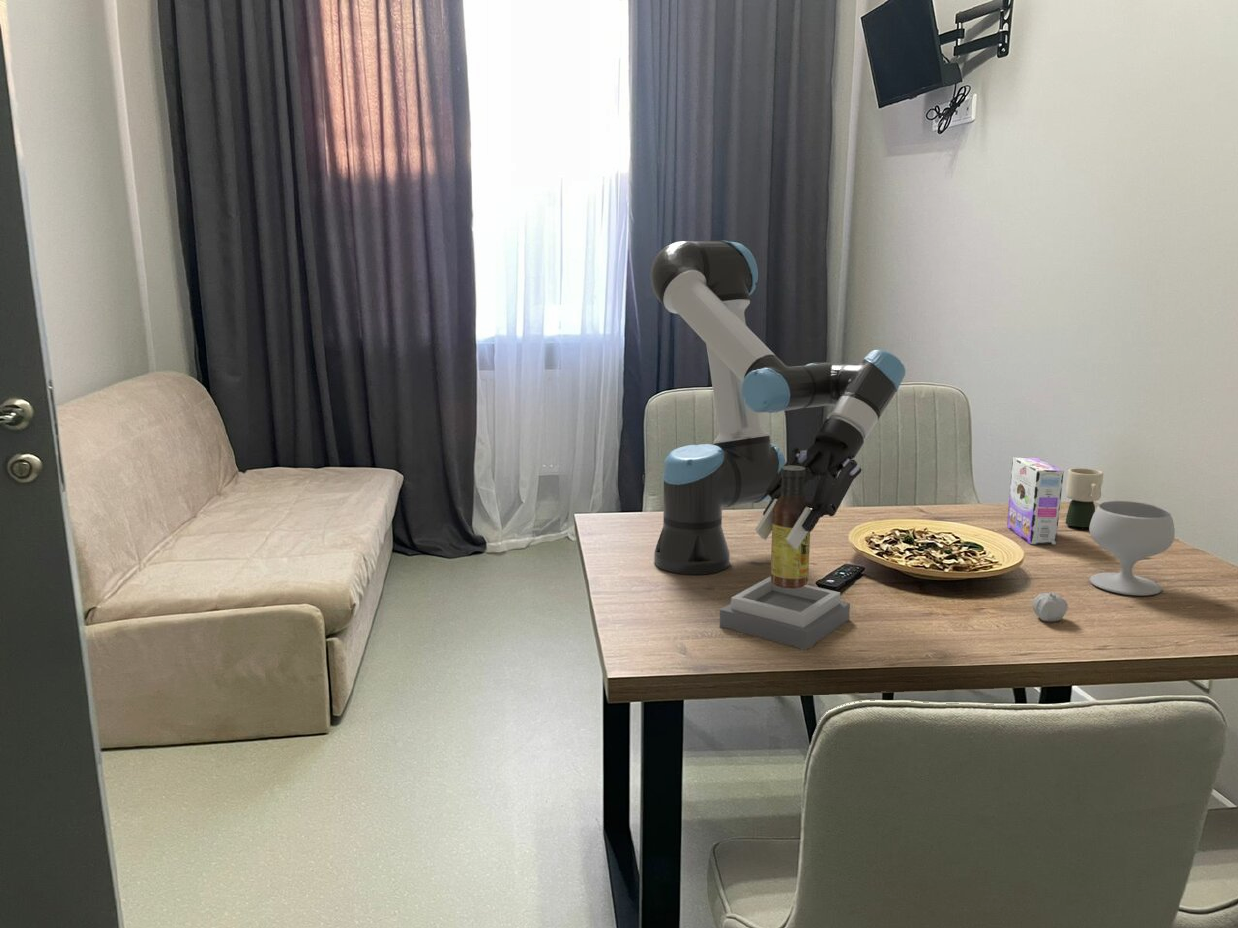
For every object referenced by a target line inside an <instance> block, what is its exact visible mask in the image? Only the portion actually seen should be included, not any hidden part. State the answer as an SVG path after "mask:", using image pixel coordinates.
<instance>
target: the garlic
mask: <svg viewBox="0 0 1238 928" xmlns="http://www.w3.org/2000/svg"><path fill="white" fill-rule="evenodd" d="M1068 607H1069V605H1068V603H1067V600H1065V598H1063V597H1061V596H1060V595H1059V594H1057V593H1054V592H1053V591H1049V592H1043V593H1039V594H1038V595H1037V596H1035V597H1034V599H1033V601H1032V610H1033V612H1034V614H1035V615H1036V616H1037V617H1038V618H1039V619H1040V620H1041V621H1042V622H1057V621H1060V620H1062V619H1063V618H1064V616H1065V615H1066V613H1067V611H1068V610H1069V609H1068Z"/></svg>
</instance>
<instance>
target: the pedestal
mask: <svg viewBox="0 0 1238 928" xmlns="http://www.w3.org/2000/svg"><path fill="white" fill-rule="evenodd" d="M850 610H851V602H847V601H843V600H841V591H837V590H836V591H835V590H831V589H827V588H824V587H823V588H822V587H818V586H813V585H809V584H806V585H805V586H803V587H800V588H794V589H793V588H782V587H778V586H776V585H774V584H773V583H772V581H771V576H768V577H767V578H765V579H763V580H762V581H759V582H757V583H756V584H753V585H751V586H749V587H748V588H746V589H744V590H742V591H741V592H739V593H737V594H736V595H733V596H732V597H730V603H729V604H727V605H726V606H724V607H722V608H720V609H719V627H721V628H725V629H727V630H731V631H734V632H735V631H736V632H739V633H743V634H746V635H750V636H754V637H758V638H761V639H764V640H768V641H773V642H775V643H779V644H783V645H787V646H790V647H794V648H796V649H797V648H798V649H801V650H805V651H806V650H808V649H810V648H811V647H813V646H815V644H816V643H818V642H820V641H822V640H823V639H824V638H825V637H827V636H828V635H829V634H831V633H832V632H834V631H835V630H837V629H838V628H840V627H841V626H842V625H844V624H845V623H847V622H848V621H850Z"/></svg>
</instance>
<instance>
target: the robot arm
mask: <svg viewBox="0 0 1238 928" xmlns="http://www.w3.org/2000/svg"><path fill="white" fill-rule="evenodd" d="M758 271H759V270H758V265H757V262H756V259H755V257H754V255H753V253H752V252H751V251H750V249H749V248H747V247H746V246H745V245H743V244H742V243H740V242H736V241H735V242H734V241H728V240H711V241H710V240H706V241H700V240H699V241H697V240H695V241H691V240H690V241H689V240H681V241H679V240H678V241H676V242H673V243H670V244H668V245H666V246H665V247H664V248H662V249H661V250H660V251H659V252H658V254H657V255H655V258H654V259H653V262H652V265H651V268H650V284H651V289H652V290H653V293H654V296H655V297H656V298H657V300H658V301H659V302H660V303H661V305H662V306H664V308H665V309H666V310H667V311H668V312H669V313H672V314H677V315H679V316H680V317H681V318H682V319H683V320H684V322H685V323H687V325H688V326H689V327H690V328H691V329H692V330H693V331H694V332H695V333H696V334H697V336H699V338H701V340H702V341H703V342H704V343H705V345H706V350H707V351H706V352H707V357H708V365H709V372H710V373H709V374H710V378H711V379H710V380H711V385H712V393H713V400H714V406H715V414H716V420H717V426H718V427H717V428H718V435H717V437H716V438H715V439H714V440H713V444H708V443H700V444H688V445H684V446H681V447H677V448H675V449H673V450H671V451H670V452H669V453H668V454H667V455H666V457H665V458H664V466H663V473H662V478H663V479H662V480H663V523H662V524H663V525H662V528H661V532H660V534H659V538H658V540H657V543H656V546H655V548H654V554H653V555H654V557H653V558H654V559H653V560H654V561H653V562H654V564H655V566H656V567H658V568H660V569H661V570H664V571H667V572H669V573H673V574H674V573H675V574H680V575H681V574H682V575H706V574H714V573H718V572H721V571H725V569H727V568H728V567H729V566H730V563H731V562H730V558H731V557H730V556H731V553H730V550H729V548H728V543H727V540H726V536H725V533H724V530H723V526H722V525H723V524H722V523H723V521H722V520H723V509H725V508H731V507H736V506H742V505H747V504H757V503H760V502H763V501H766V500H770V499H771V500H770V502H769V503H768V505H767V506H766V508H765V509H764V510H763V513H762V515H763V516H762V518H761V520H760V521H759V522H758V524H757V526H756V527H755V528H754V531H755V532H756V533H757V534H758V536H759V537H760V538H761V539H762V540H765V541H766V540H767V538H768V537H769V536H770V534H772V523H773V510H774V505H775V503H776V501H777V500H778V499H779V497H780V495H781V482H782V478H781V475H780V474H781V467H783V466H791V465H793V466H801V467H804V468H805V469H806V476H805V478H804V486H805V485H806V484H807V483H808V482H809V481H813V480H814V479H815V478H817V476H818V477H819V476H820V477H819V479H818V483H817V486H816V490H815V493H814V496H813V499H812V503H810V502H809V504H808V507H806V508H805V509H804V511H803V513H802V514H801V516H800V517H799V519H798V521H797V522H796V524H795V525H794V527H793V528H792V530H791V532H790V533H789V535H788V536H787V538H786V541H787V542H788V543H789V544H790V545H791V546H792V548H793V549H796V550H797V549H798V547H799V545H800V544H801V542H802V541H803V539H804V537H805V536H806V534H807V533H808V532H810V533H811V532H812V531H813V530H814V528H815V527H816V525H817V523H818V522H819V520H820V519H821V518H823V517H824V516H829V517H834V516H835V515H836V513H837V511H838V509H839V507H840V505H841V504H842V502H843V500H844V498H845V496H846V494H847V493H848V490H850V487H851V486H852V483H853V481H854V480H855V478H857V477H858V476H859V475H860V473H862V467H860V465H859V464H858V462H857V461H856V460H855V458H856V456H857V455H858V453H859V451H860V449H861V448H862V447H863V444H864V442H865V440H867V438H869V437H868V436H869V435H870V433H871V432H872V430H873V428H874V427H875V426H876V424H877V422H878V421H879V419H880V417H881V416H882V414H883V413H884V411H885V409H886V408H887V407H888V405H889V403H890V402H891V400H892V399H893V397H894V396H895V394H896V393H897V392H898V391H899V388H900V386H901V384H902V382H903V380H904V378H905V376H906V368H905V365H904V364H903V363H902V362H901V359H900V358H899V357H897V356H896V355H894V354H893V353H891V352H889V351H887V350H883V349H873V350H872V351H870V352H869V353H868V354H866V356H865V357H864V358H863V359H862V362H861V363H838V362H837V363H835V362H827V361H826V362H825V361H822V362H812V363H811V362H810V363H808V364H806V365H795V366H788V365H786V364H785V363H784V362H783V361H782V360H781V359H780V358H779V357H778V356H777V355H775V353H774V352H773V351H772V350H771V349H769V347H768V346H767V345H766V344H765V343H764V342H763V341H762V340H761V339H760V338H759V337H758V336H757V335H756V334H755V333H754V332H752V330H751V329H750V328H749V326H747V324H746V323H747V322H746V316H745V311H746V309H747V308H748V306H749V305H750V304H751V300H750V295H752V294H753V293H754V291H755V290H756V287H757V285H756V283H758V280H759V272H758ZM824 406H833V407H832V408H831V410H830V412H829V413H828V414H827V418H826V419H825V420H824V421H823V422H822V425H821V426H820V427H819V428H818V430H817V432H816V433H815V439H814V443H813V444H812V445H811V446H809V447H808V448H807V449H805V450H803V449H802V450H800V449H799V448H798V447H794V448H792V451H791V452H790V456H789V458H788V460H787V461H786V458H785V455H784V453H783V452H782V451H781V450H780V449H781V448H779V446H777V445H776V444H773V443H771V437H770V433H769V432H767V431H766V430H765V429H763V428H762V426H761V420H760V414H759V413H761V414H762V413H769V414H773V413H779V412H784V411H792V410H799V409H806V408H807V409H808V408H816V407H817V408H818V407H824ZM809 506H810V507H809Z"/></svg>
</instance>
